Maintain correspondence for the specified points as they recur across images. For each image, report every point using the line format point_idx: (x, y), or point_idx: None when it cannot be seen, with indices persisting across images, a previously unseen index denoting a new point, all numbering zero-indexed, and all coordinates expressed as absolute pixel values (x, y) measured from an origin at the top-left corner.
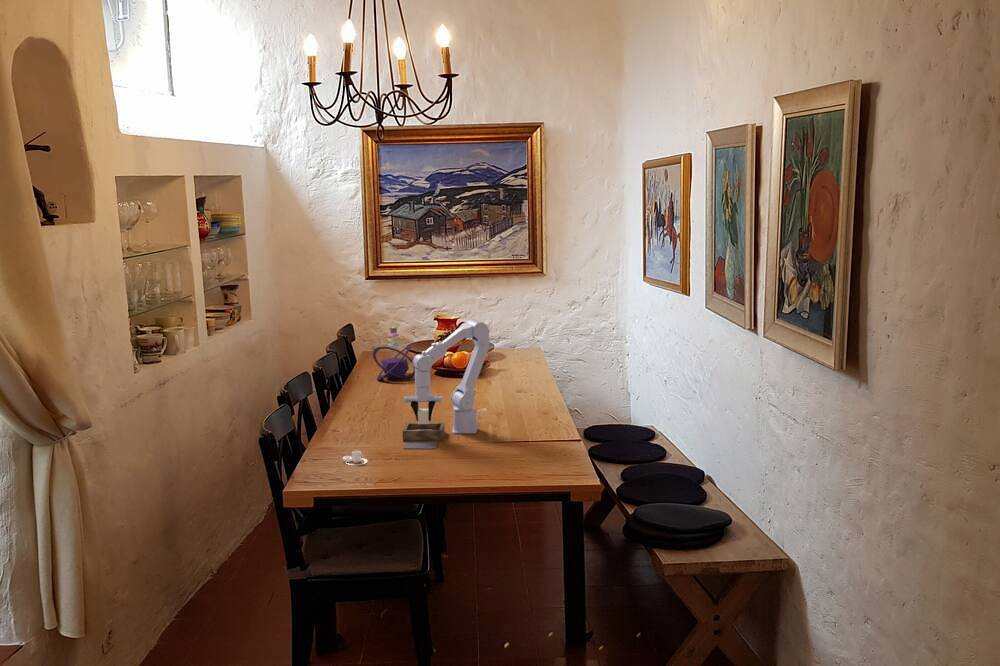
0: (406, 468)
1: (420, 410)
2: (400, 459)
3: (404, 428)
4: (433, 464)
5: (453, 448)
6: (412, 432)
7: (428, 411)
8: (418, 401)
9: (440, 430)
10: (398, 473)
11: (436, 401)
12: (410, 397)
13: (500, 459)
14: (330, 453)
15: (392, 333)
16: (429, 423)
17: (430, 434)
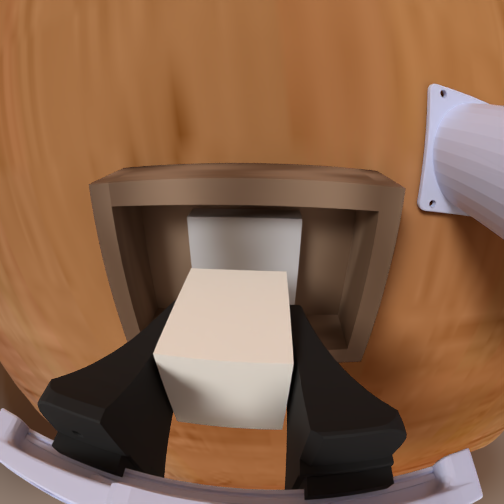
0: (234, 466)
1: (194, 405)
2: (204, 440)
3: (122, 313)
4: None
5: (375, 387)
6: None
7: (284, 407)
8: (150, 486)
9: (353, 355)
10: (222, 474)
11: (393, 486)
12: (49, 492)
13: (452, 420)
14: (24, 370)
15: None
16: (280, 204)
17: None
